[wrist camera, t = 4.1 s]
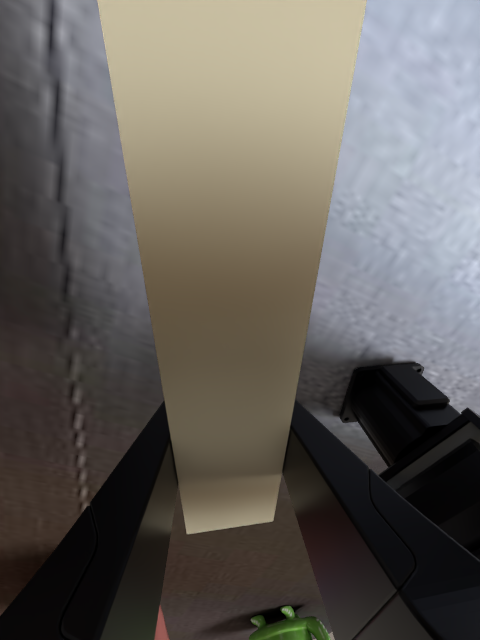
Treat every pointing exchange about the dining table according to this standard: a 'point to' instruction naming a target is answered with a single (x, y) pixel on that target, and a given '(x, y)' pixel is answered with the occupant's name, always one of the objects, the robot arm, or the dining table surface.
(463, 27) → the dining table surface
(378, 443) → the robot arm
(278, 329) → the stick
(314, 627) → the turtle holder
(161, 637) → the cell model
